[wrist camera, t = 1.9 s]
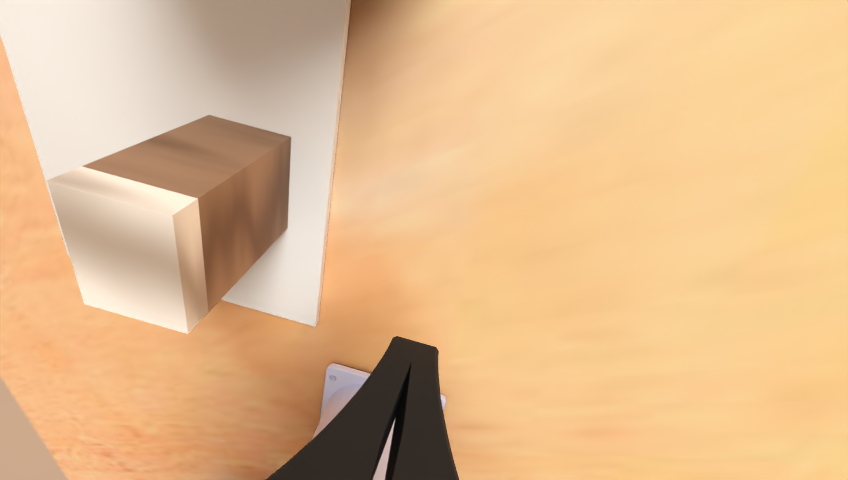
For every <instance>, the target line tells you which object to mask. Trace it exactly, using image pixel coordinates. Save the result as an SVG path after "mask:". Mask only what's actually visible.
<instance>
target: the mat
mask: <svg viewBox="0 0 848 480" xmlns="http://www.w3.org/2000/svg"><path fill="white" fill-rule="evenodd" d="M350 7H351V0H0V34H1V37H2V40H3V44H4V47H5V50H6V53H7V57H8V60H9V63H10V67H11V70H12V73H13V76H14V80H15V83H16V86H17V89H18V93H19V96H20V99H21V103H22V106H23V109H24V112H25V116H26V119H27V122H28V125H29V129H30V132H31V135H32V139H33V142H34V145H35V148H36V152H37V155H38V158H39V161H40V165H41V168H42V171H43V174H44V178H45V181H46V184H47V188H48V191H49V194H50V197H51V201H52V204H53V207H54V210H55V214H56V217H57V220H58V224H59V227H60V230H61V233H62V237H63V240H64V243H65V246H66V250H67V253H68V256H69V257H70V255H69V252H68V249H67V245H66V242H65V239H64V235H63V232H62V229H61V225H60V222H59V219H58V216H57V212H56V209H55V206H54V202H53V199H52V196H51V193H50V189H49V186H48V183H47V180H49V179H51V178H54V177H56V176H59V175H61V174H64V173H66V172H69V171H71V170H74V169H76V168H79V167H81V166H84V165H86V164H89V163H91V162H94V161H96V160H98V159H101V158H103V157H106V156H108V155H111V154H113V153H116V152H118V151H121V150H123V149H126V148H128V147H131V146H133V145H136V144H138V143H141V142H143V141H145V140H148V139H150V138H153V137H155V136H158V135H160V134H163V133H165V132H168V131H170V130H173V129H175V128H178V127H180V126H183V125H185V124H188V123H190V122H192V121H195V120H197V119H200V118H202V117H205V116H207V115H212V116H215V117H219V118H223V119H226V120H230V121H234V122H238V123H241V124H245V125H249V126H253V127H256V128H260V129H264V130H267V131H271V132H275V133H279V134H282V135H286V136H290V137H291V155H290V180H289V205H288V228H287V229H286V230H285V231H284V232H283V233H282V235H281V236H280V237H279V238H278V239H277V240H276V241H275V242H274V243H273V244H272V245H271V246H270V247H269V248H268V249H267V251H266V252H265V253H264V254H263V255H262V256H261V257H260V258H259V259H258V260H257V261H256V262H255V263H254V264H253V265H252V267H251V268H250V269H249V270H248V271H247V272H246V273H245V274H244V275H243V276H242V277H241V278H240V279H239V280H238V281H237V283H236V284H235V285H234V286H233V287H232V288H231V289H230V290H229V291H228V292H227V293H226V294H225V295H224V296H223V297H222V298H221V300H223V301H226V302H230V303H233V304H237V305H240V306H244V307H247V308H251V309H254V310H258V311H261V312H265V313H268V314H272V315H275V316H279V317H282V318H286V319H289V320H293V321H296V322H300V323H303V324H307V325H310V326H314V327H316V325H317V323H318V322H319V313H320V303H321V293H322V284H323V274H324V264H325V254H326V244H327V234H328V224H329V215H330V205H331V195H332V185H333V175H334V165H335V155H336V145H337V136H338V126H339V116H340V106H341V96H342V86H343V76H344V66H345V57H346V47H347V37H348V27H349V17H350Z"/></svg>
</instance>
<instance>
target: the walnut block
mask: <svg viewBox="0 0 848 480" xmlns="http://www.w3.org/2000/svg"><path fill="white" fill-rule="evenodd" d="M290 155H291V137H290V136H286V135H282V134H279V133H275V132H271V131H267V130H264V129H260V128H256V127H253V126H249V125H245V124H241V123H238V122H234V121H230V120H226V119H223V118H219V117H215V116H212V115H207V116H205V117H202V118H200V119H197V120H195V121H192V122H190V123H188V124H185V125H183V126H180V127H178V128H175V129H173V130H170V131H168V132H165V133H163V134H160V135H158V136H155V137H153V138H150V139H148V140H145V141H143V142H141V143H138V144H136V145H133V146H131V147H128V148H126V149H123V150H121V151H118V152H116V153H113V154H111V155H108V156H106V157H103V158H101V159H98V160H96V161H94V162H91V163H89V164H86V165H84V166H81V167H79V168H76V169H74V170H71V171H69V172H66V173H64V174H61V175H59V176H56V177H54V178H51V179H49V180H47V183H48V186H49V189H50V193H51V196H52V199H53V202H54V206H55V209H56V212H57V216H58V219H59V222H60V225H61V229H62V232H63V235H64V239H65V242H66V245H67V249H68V252H69V255H70V258H71V262H72V265H73V268H74V272H75V275H76V278H77V281H78V285H79V288H80V291H81V295H82V298H83V301H84V304H86V305H89V306H93V307H96V308H100V309H103V310H107V311H110V312H114V313H117V314H121V315H124V316H127V317H131V318H134V319H138V320H141V321H145V322H148V323H152V324H155V325H159V326H162V327H165V328H169V329H172V330H176V331H179V332H183V333H186V334H189V333H190V332H191V330H192V329H193V328H194V327H195V326H196V325H197V324H198V323H199V322H200V321H201V320H202V319H203V318H204V317H205V316H206V314H207V313H208V312H209V311H210V310H211V309H212V308H213V307H214V306H215V305H216V304H217V303H218V302H219V301H220V300H221V298H222V297H223V296H224V295H225V294H226V293H227V292H228V291H229V290H230V289H231V288H232V287H233V286H234V285H235V284H236V283H237V281H238V280H239V279H240V278H241V277H242V276H243V275H244V274H245V273H246V272H247V271H248V270H249V269H250V268H251V267H252V265H253V264H254V263H255V262H256V261H257V260H258V259H259V258H260V257H261V256H262V255H263V254H264V253H265V252H266V251H267V249H268V248H269V247H270V246H271V245H272V244H273V243H274V242H275V241H276V240H277V239H278V238H279V237H280V236H281V235H282V233H283V232H284V231H285V230H286V229H287V228H288V205H289V180H290Z"/></svg>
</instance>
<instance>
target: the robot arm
mask: <svg viewBox="0 0 848 480" xmlns="http://www.w3.org/2000/svg"><path fill="white" fill-rule="evenodd" d="M438 352H439V351H438V350H437V348H436V347H433V346H430V345H426V344H423V343H419V342H416V341H412V340H409V339H405V338H402V337H398V336H396V337H394V338H393V339H392V341H391V343H390V345H389V347H388V349H387V351H386V352H385V354H384V356H383V357H382V359H381V360H380V362H379V363H378V365H377V366H376V368H375V369H374V370H373V372H372V373H371V374H370V373H367V372H363V371H360V370H357V369H353V368H350V367H346V366H343V365H339V364H335V363H332V364H329V365H328V367H327V370H326V376H325V384H324V392H323V400H322V408H321V416H320V422H319V424H318V426H317V429H316V431H315V433H314V435H313V438H312V440H311V441H310V442H309V443H308V444H307V445H306V446H305V447H304V448H303V449H302V450H300V451H299V452H298V453H297V454H296V455H295V456H294V457H293V458H291V459H290V460H289V461H288V462H287V463H286V464H285V465H283V466H282V467H281V468H280V469H278V470H277V471H276V472H275V473H273V474H272V475H271V476H270V477H268V478H267V479H266V480H459V478H458V474H457V471H456V467H455V464H454V460H453V456H452V452H451V448H450V444H449V439H448V435H447V430H446V425H445V420H444V414H443V410H444V407H445V405H446V397H445V396H444V395H442V394H440V386H439V374H438Z"/></svg>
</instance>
